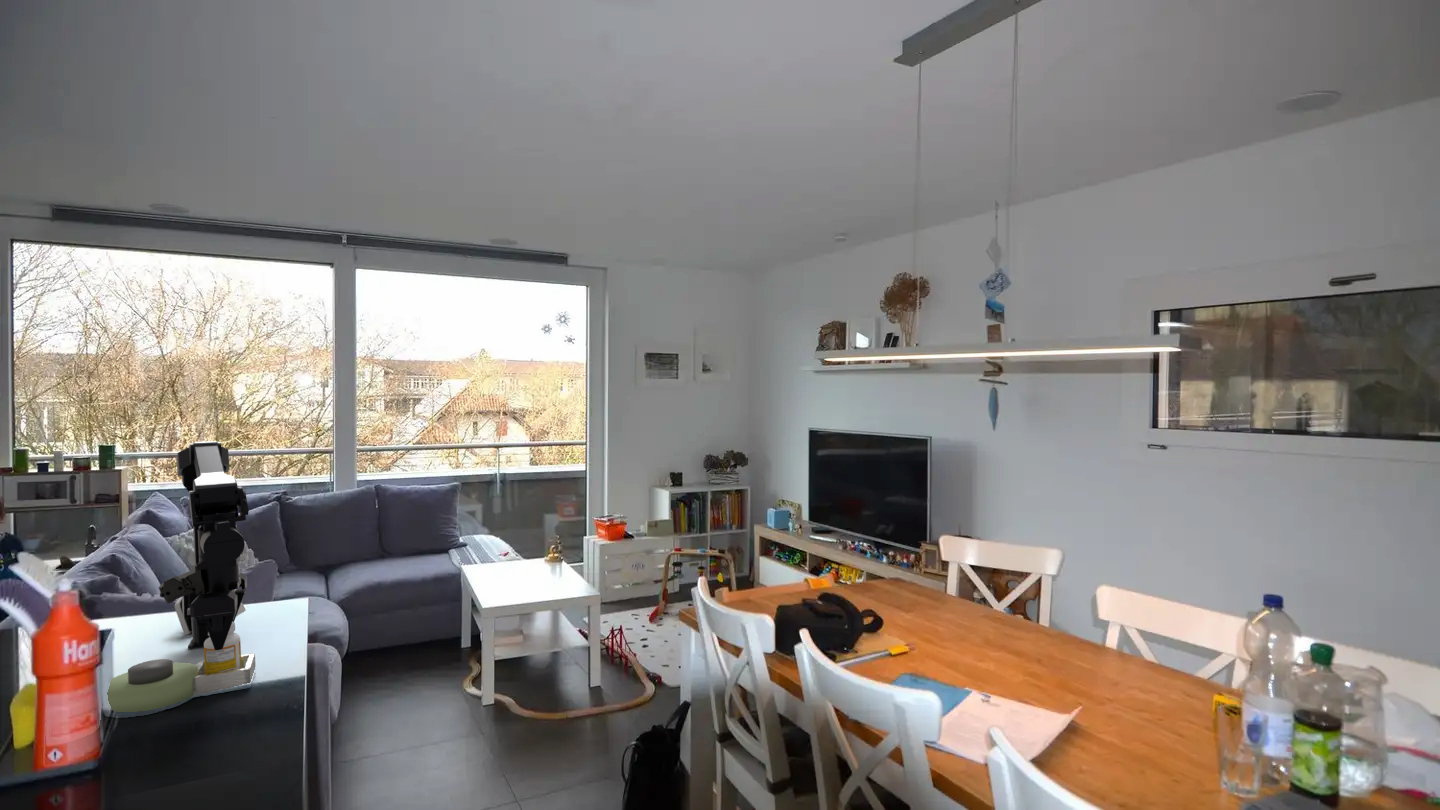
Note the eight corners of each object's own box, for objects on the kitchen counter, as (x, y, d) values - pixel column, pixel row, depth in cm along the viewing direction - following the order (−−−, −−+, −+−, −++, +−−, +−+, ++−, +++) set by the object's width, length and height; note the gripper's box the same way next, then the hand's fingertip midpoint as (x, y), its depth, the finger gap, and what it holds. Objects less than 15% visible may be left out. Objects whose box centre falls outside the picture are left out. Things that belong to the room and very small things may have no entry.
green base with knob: (114, 694, 129) (112, 660, 129) (205, 679, 135) (203, 646, 135) (91, 725, 118) (89, 687, 117) (191, 707, 123) (190, 671, 123)
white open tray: (199, 680, 134) (198, 661, 134) (255, 671, 138) (254, 652, 138) (190, 698, 127) (189, 678, 127) (250, 688, 131) (249, 668, 130)
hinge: (209, 633, 160) (189, 590, 160) (186, 642, 160) (167, 599, 159) (246, 609, 177) (229, 571, 176) (226, 617, 176) (208, 578, 176)
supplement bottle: (219, 673, 135) (217, 619, 135) (248, 673, 135) (246, 619, 135) (197, 685, 130) (195, 629, 130) (228, 685, 130) (225, 629, 129)
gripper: (173, 548, 136) (177, 633, 137) (149, 571, 120) (154, 668, 120) (245, 541, 141) (249, 623, 142) (232, 562, 125) (236, 655, 125)
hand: (222, 641), depth 132 cm, fingers open, 9 cm apart
